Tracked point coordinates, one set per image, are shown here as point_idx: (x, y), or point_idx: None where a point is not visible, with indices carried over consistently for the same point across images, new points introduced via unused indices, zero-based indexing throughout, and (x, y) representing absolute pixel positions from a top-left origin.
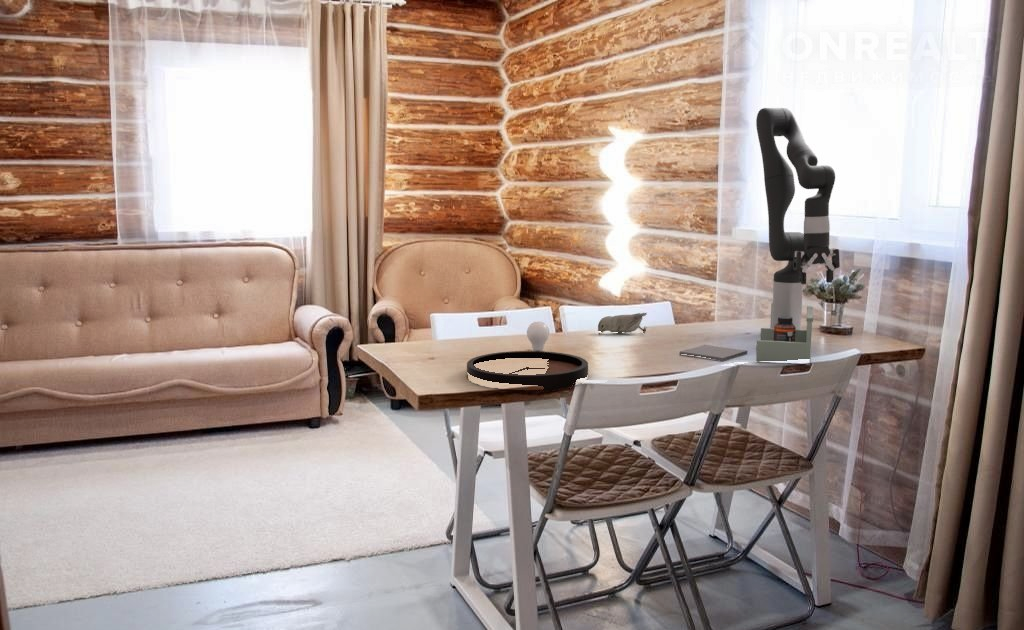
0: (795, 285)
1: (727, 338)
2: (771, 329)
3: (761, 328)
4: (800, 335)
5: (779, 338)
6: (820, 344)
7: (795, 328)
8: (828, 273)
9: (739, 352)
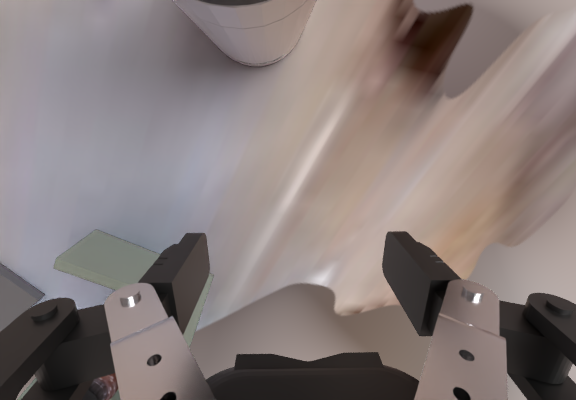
0: (241, 14)
1: (12, 69)
2: (87, 279)
3: (55, 267)
4: None
5: None
6: (274, 214)
7: (116, 391)
8: (410, 297)
9: (15, 316)
